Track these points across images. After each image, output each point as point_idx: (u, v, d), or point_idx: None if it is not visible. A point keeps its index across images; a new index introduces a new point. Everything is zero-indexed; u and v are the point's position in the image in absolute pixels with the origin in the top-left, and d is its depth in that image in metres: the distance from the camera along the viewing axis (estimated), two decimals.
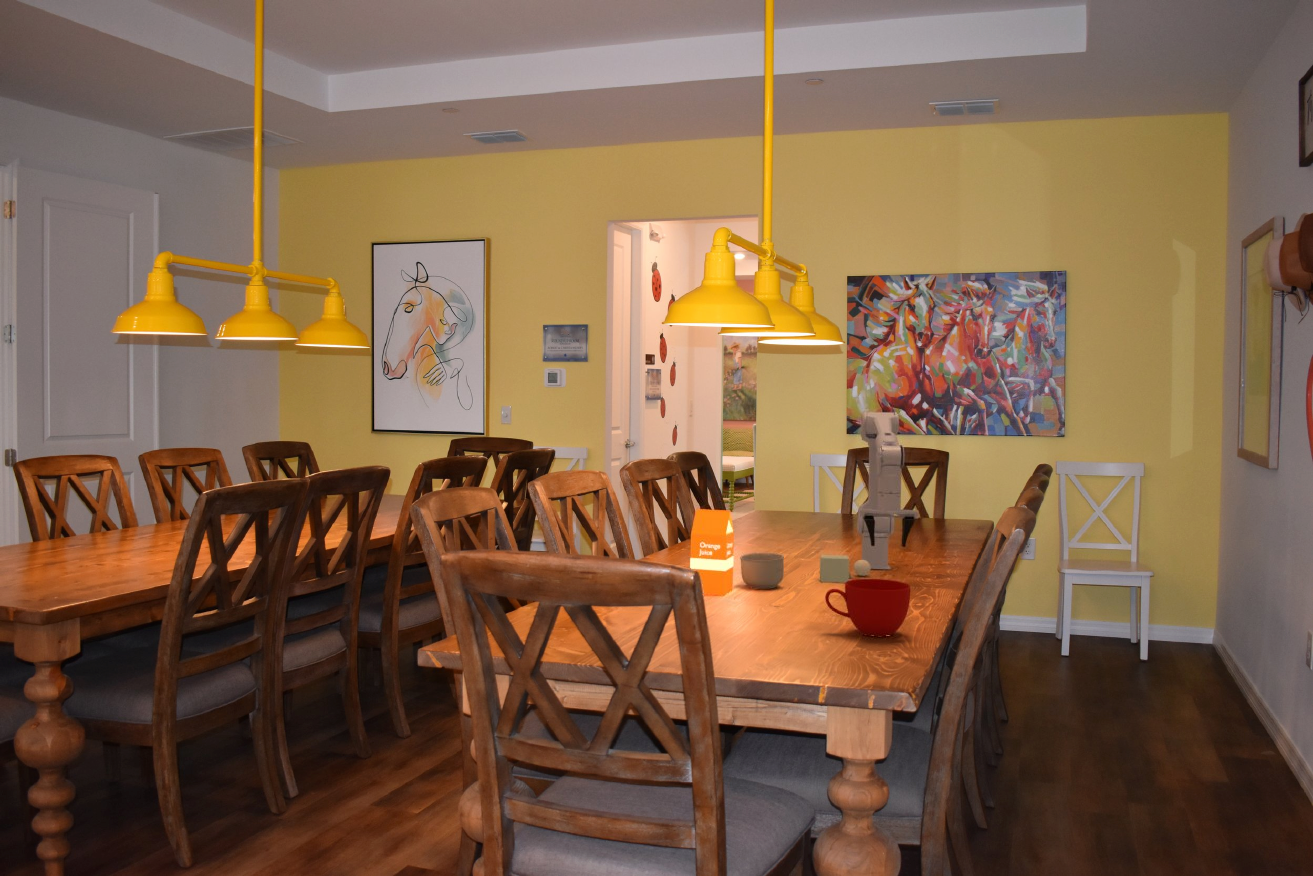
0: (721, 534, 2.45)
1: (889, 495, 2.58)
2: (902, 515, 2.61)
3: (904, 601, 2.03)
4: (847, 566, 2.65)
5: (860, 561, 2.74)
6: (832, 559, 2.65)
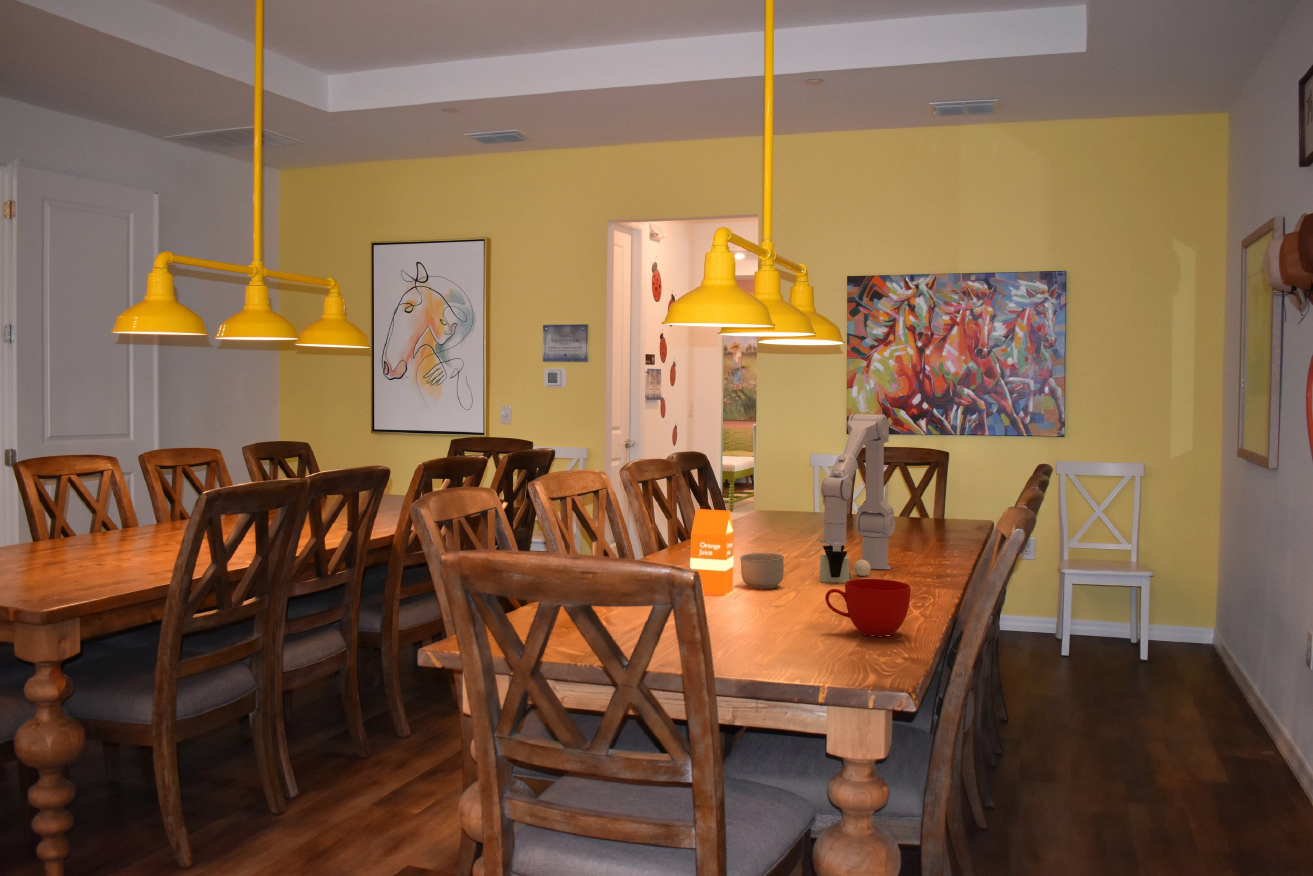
0: (721, 534, 2.45)
1: (824, 524, 2.68)
2: None
3: (904, 601, 2.03)
4: (847, 566, 2.65)
5: (860, 561, 2.74)
6: None
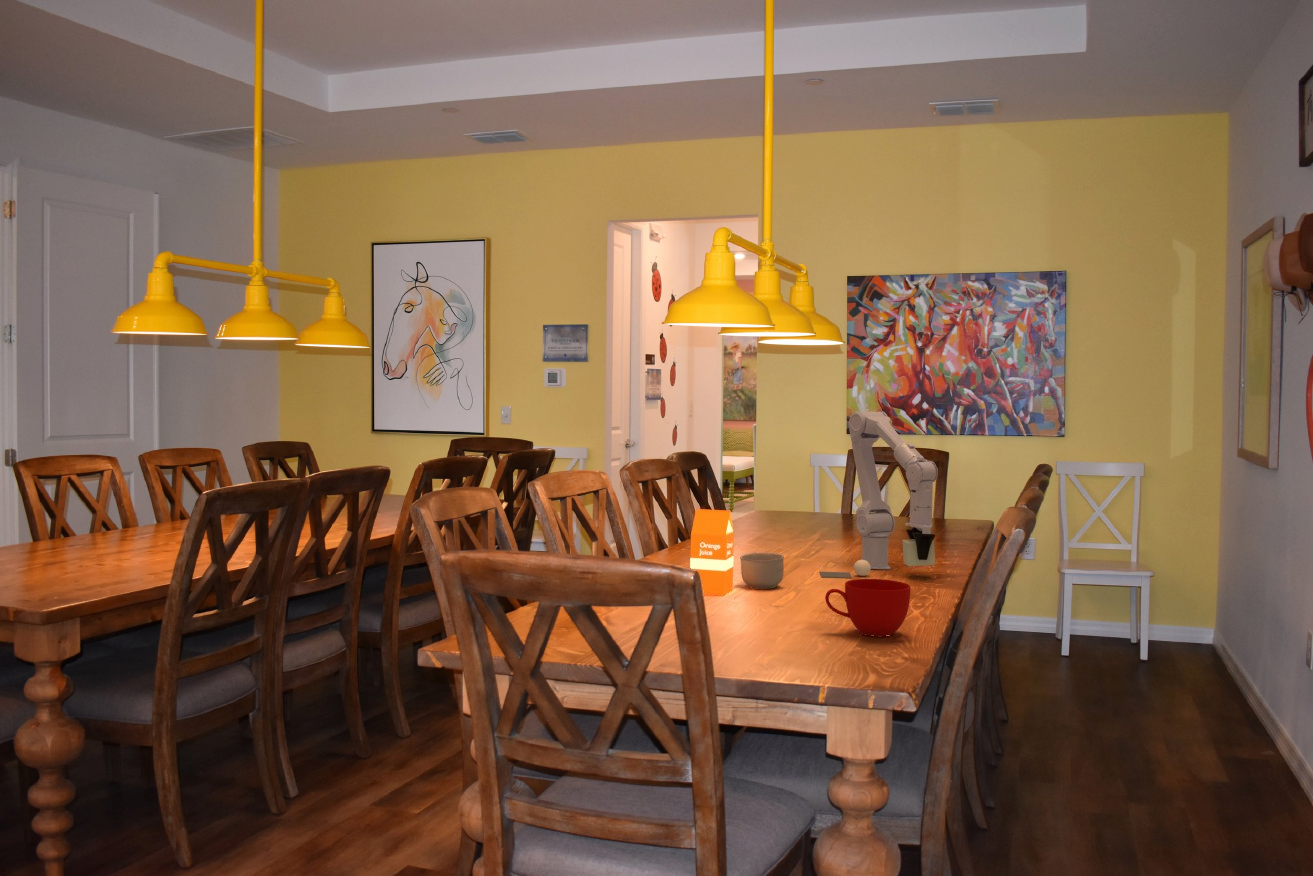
0: (721, 534, 2.45)
1: (910, 508, 2.74)
2: (922, 529, 2.70)
3: (904, 601, 2.03)
4: (932, 548, 2.70)
5: (860, 561, 2.74)
6: None
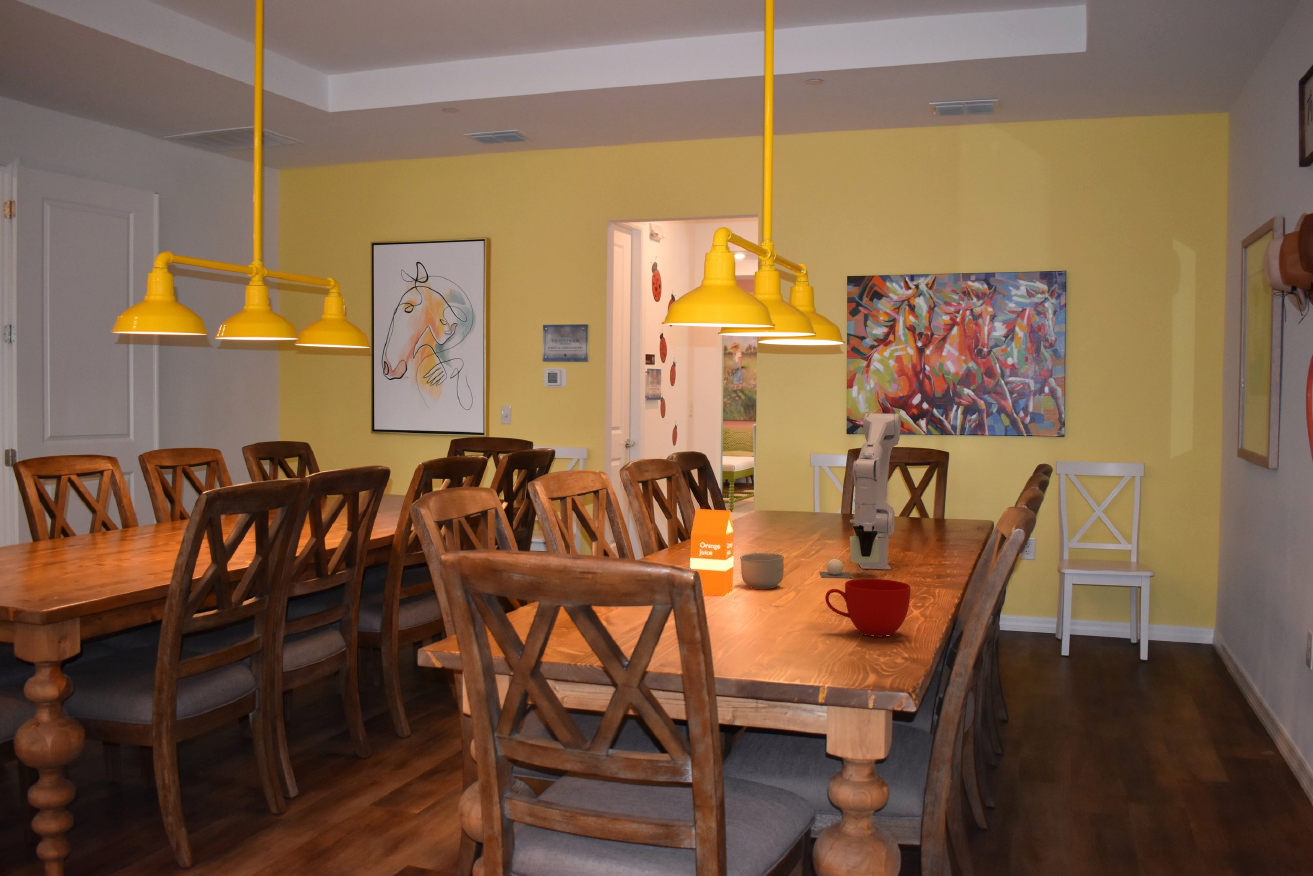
0: (721, 534, 2.45)
1: None
2: None
3: (904, 601, 2.03)
4: (877, 546, 2.72)
5: (838, 574, 2.75)
6: None
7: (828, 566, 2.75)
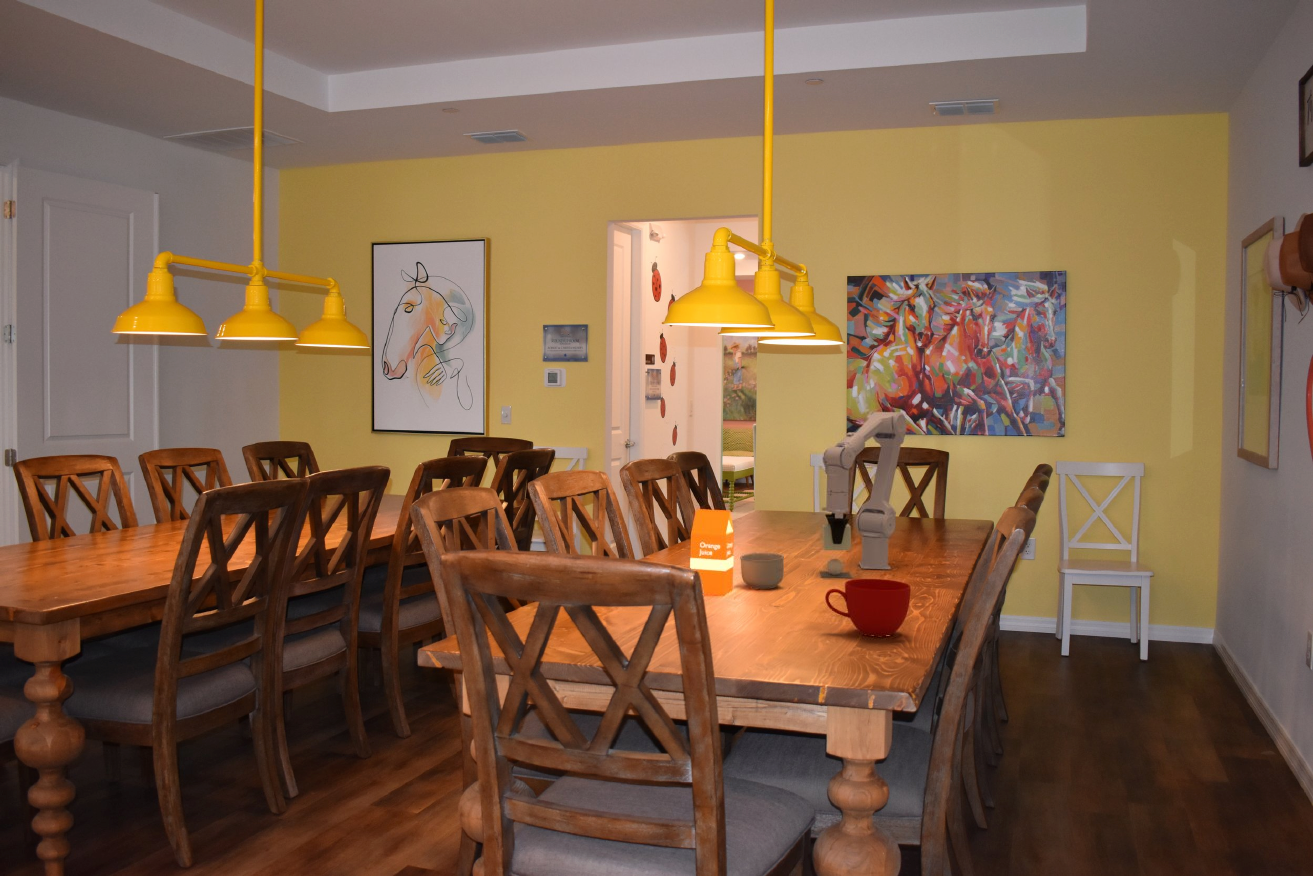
0: (721, 534, 2.45)
1: None
2: None
3: (904, 601, 2.03)
4: (849, 534, 2.72)
5: (838, 574, 2.75)
6: None
7: (828, 566, 2.75)
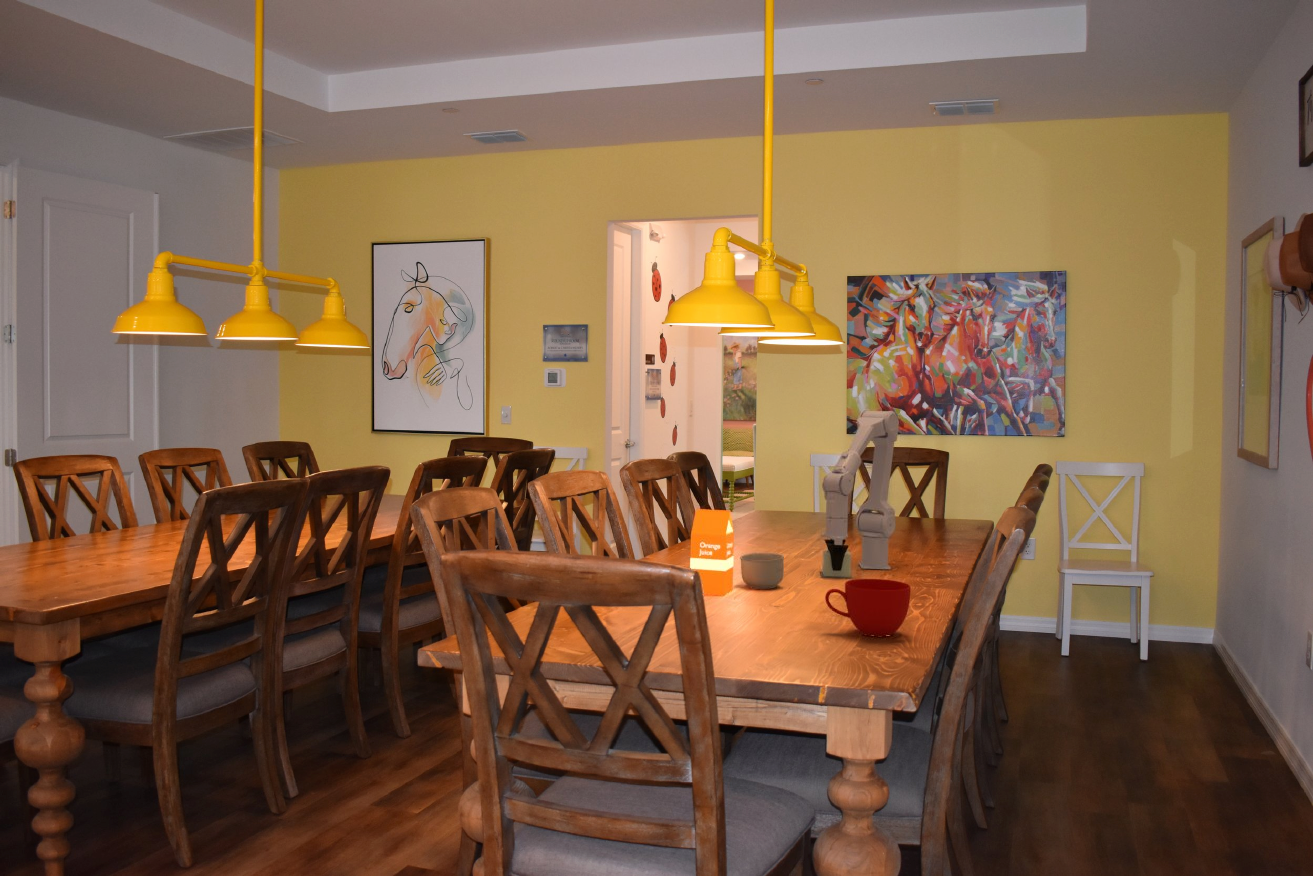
0: (721, 534, 2.45)
1: (826, 518, 2.76)
2: None
3: (904, 601, 2.03)
4: (849, 561, 2.73)
5: None
6: None
7: None
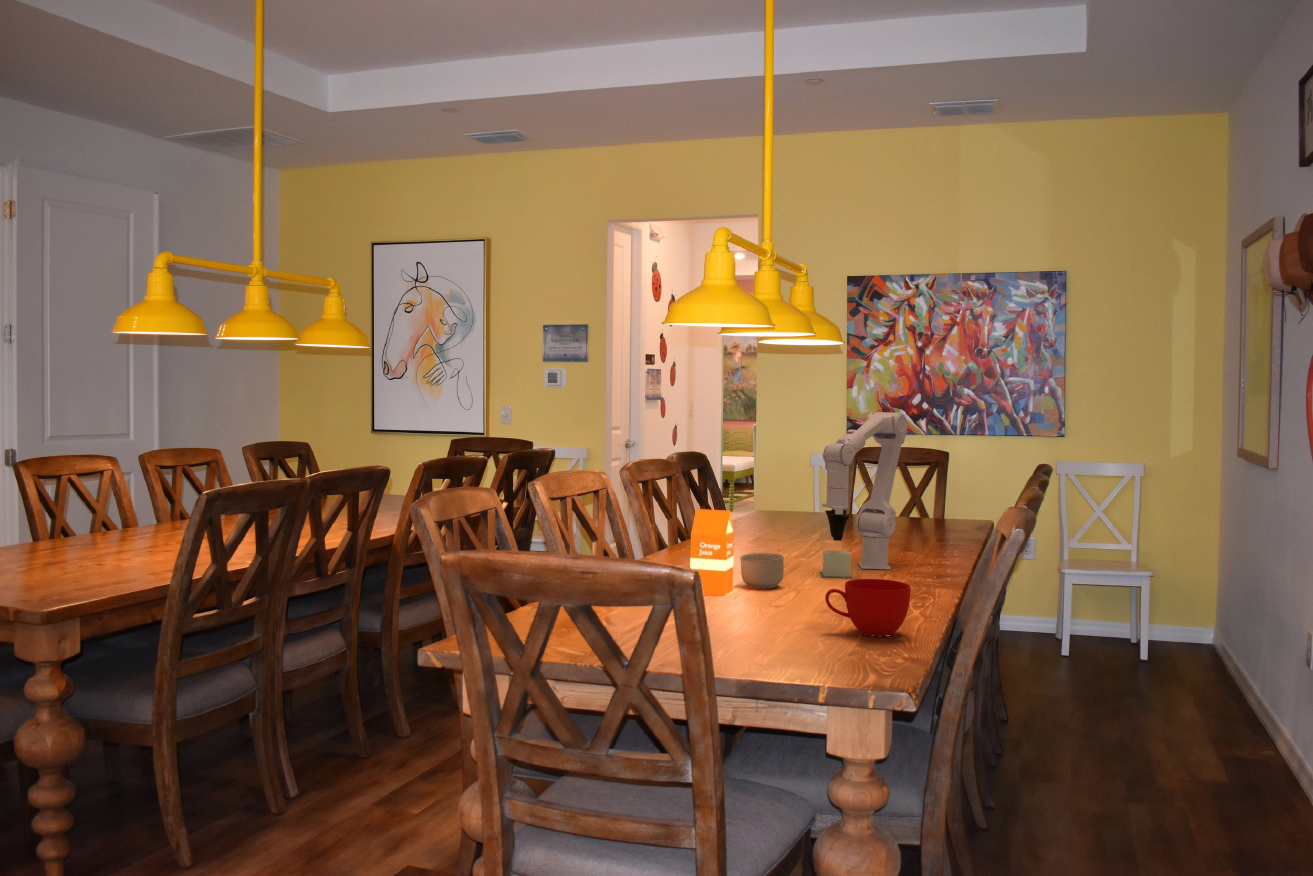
0: (721, 534, 2.45)
1: None
2: None
3: (904, 601, 2.03)
4: (849, 561, 2.73)
5: None
6: (834, 554, 2.73)
7: None
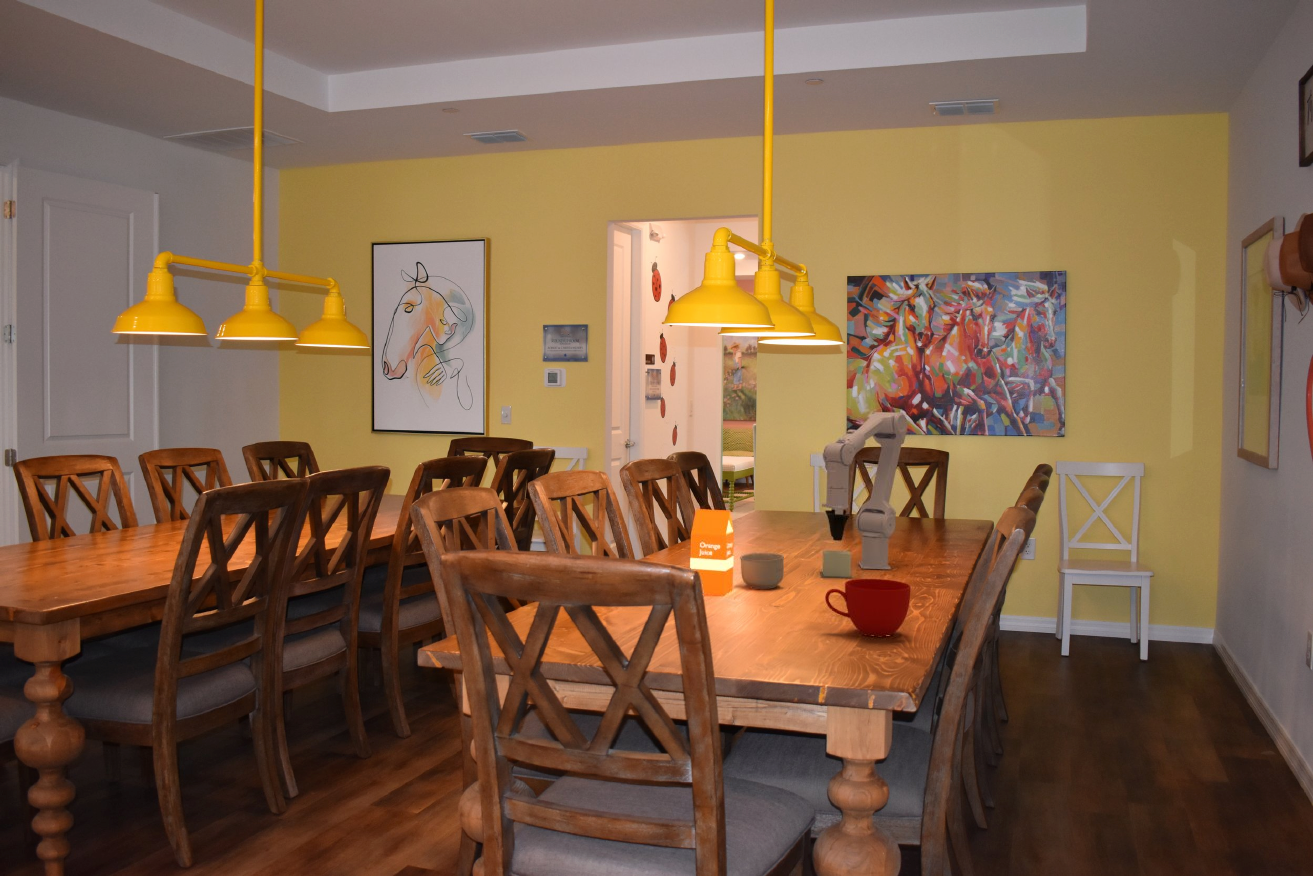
0: (721, 534, 2.45)
1: None
2: None
3: (904, 601, 2.03)
4: (849, 561, 2.73)
5: None
6: (834, 554, 2.73)
7: None
